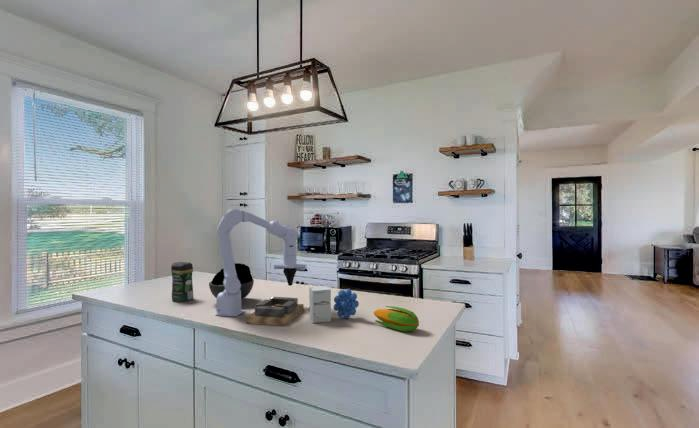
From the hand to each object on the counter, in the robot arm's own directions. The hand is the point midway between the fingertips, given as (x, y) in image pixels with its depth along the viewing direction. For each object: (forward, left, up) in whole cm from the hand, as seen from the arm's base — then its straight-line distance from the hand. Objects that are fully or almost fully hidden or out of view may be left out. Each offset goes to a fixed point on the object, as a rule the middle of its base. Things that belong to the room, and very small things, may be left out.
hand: (290, 285), depth 155 cm
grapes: (+29, -12, -10) cm, 33 cm away
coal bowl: (-30, +1, -10) cm, 32 cm away
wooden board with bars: (0, -15, -9) cm, 18 cm away
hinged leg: (0, -8, -7) cm, 11 cm away
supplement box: (+19, -16, -10) cm, 27 cm away
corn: (+48, -19, -10) cm, 53 cm away
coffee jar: (-57, +1, -10) cm, 58 cm away
